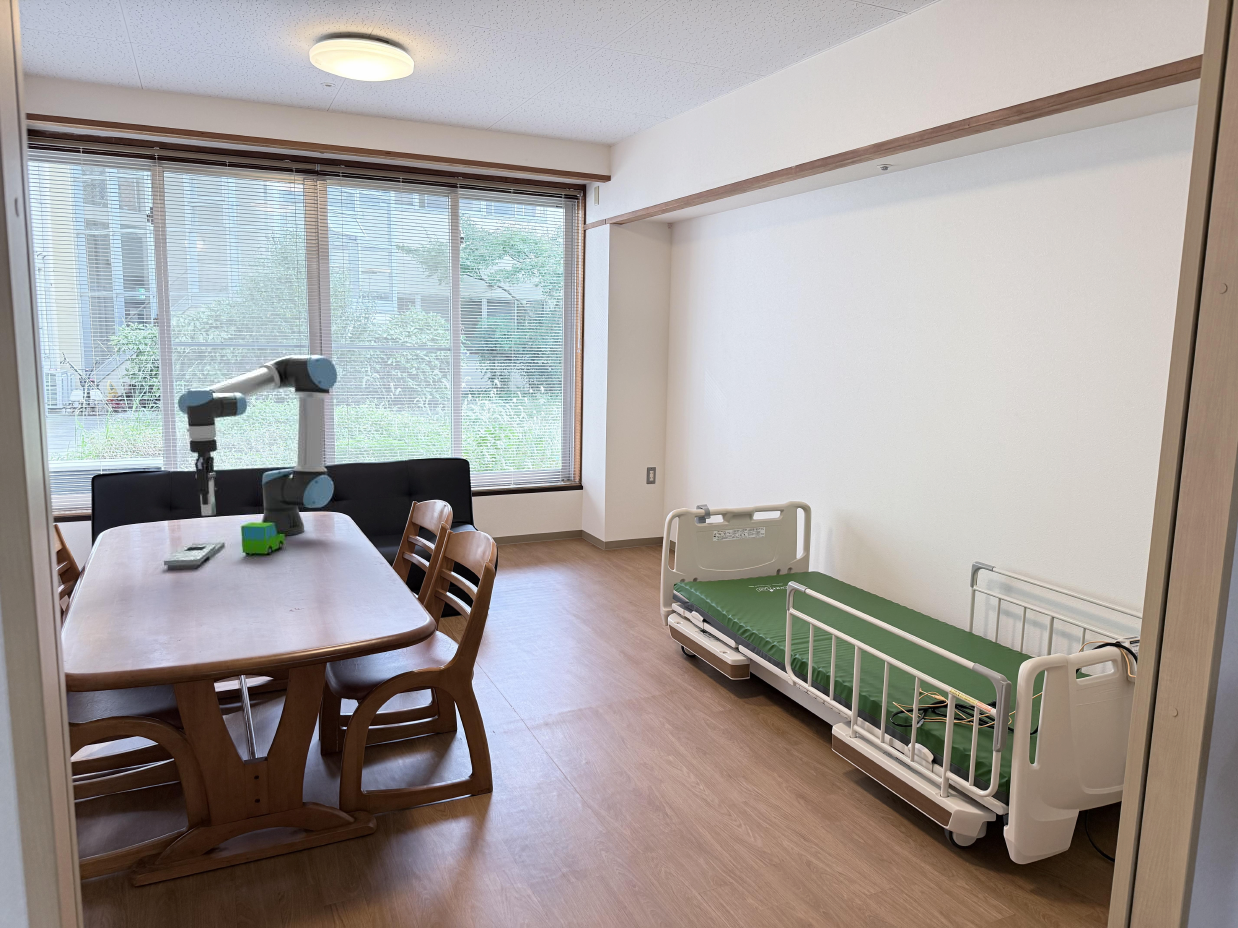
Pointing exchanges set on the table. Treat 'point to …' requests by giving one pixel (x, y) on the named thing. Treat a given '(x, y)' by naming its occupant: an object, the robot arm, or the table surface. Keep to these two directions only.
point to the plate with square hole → (192, 555)
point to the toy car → (261, 538)
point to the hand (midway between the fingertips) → (208, 512)
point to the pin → (211, 492)
